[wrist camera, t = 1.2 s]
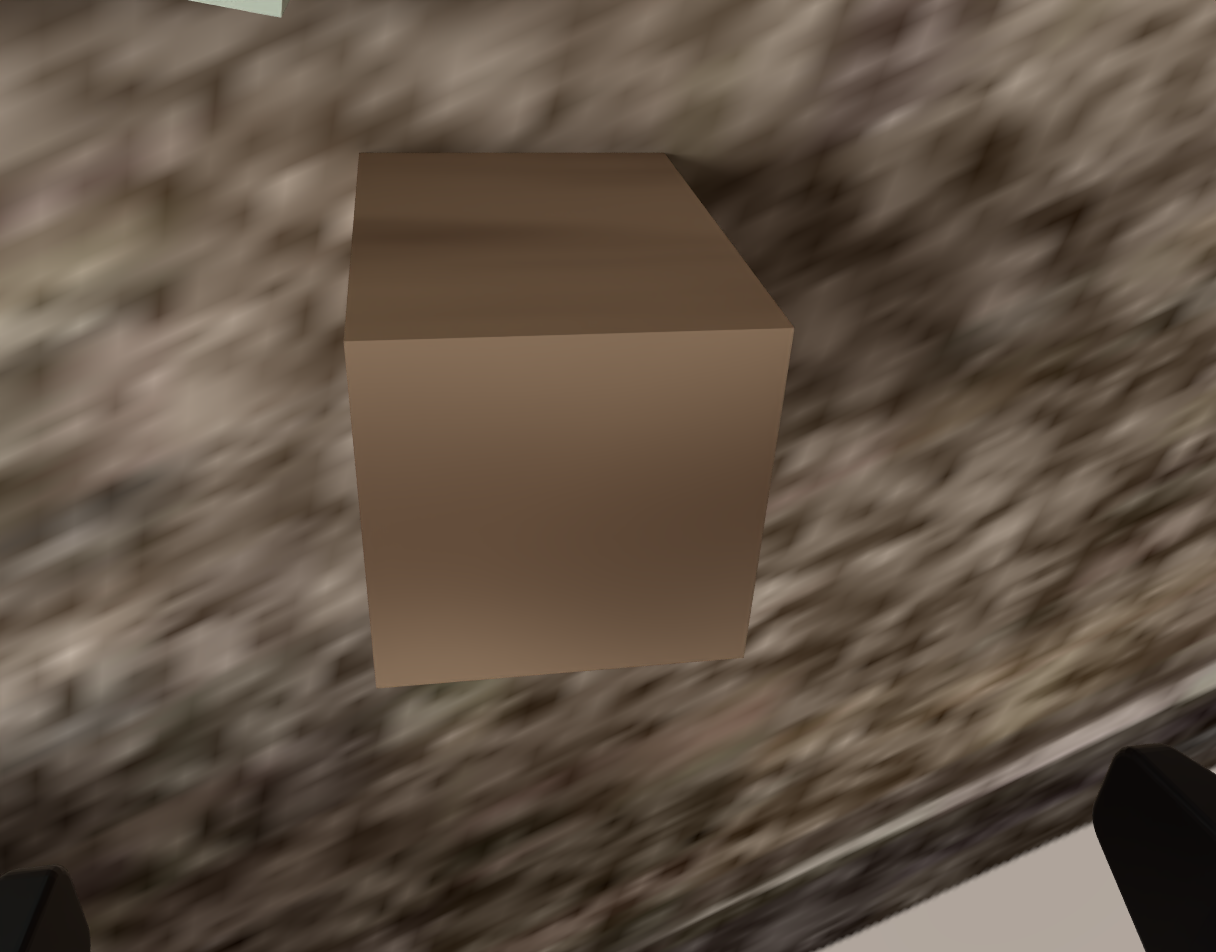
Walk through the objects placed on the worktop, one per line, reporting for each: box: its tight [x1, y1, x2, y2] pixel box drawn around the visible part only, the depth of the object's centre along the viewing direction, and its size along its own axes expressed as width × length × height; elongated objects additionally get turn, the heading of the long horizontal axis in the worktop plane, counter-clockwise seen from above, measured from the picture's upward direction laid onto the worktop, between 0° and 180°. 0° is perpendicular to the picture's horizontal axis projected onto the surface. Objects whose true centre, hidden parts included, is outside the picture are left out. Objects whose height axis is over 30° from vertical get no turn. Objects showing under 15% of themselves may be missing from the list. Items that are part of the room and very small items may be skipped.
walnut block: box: [344, 153, 794, 688], centre depth 16 cm, size 5×5×7 cm
